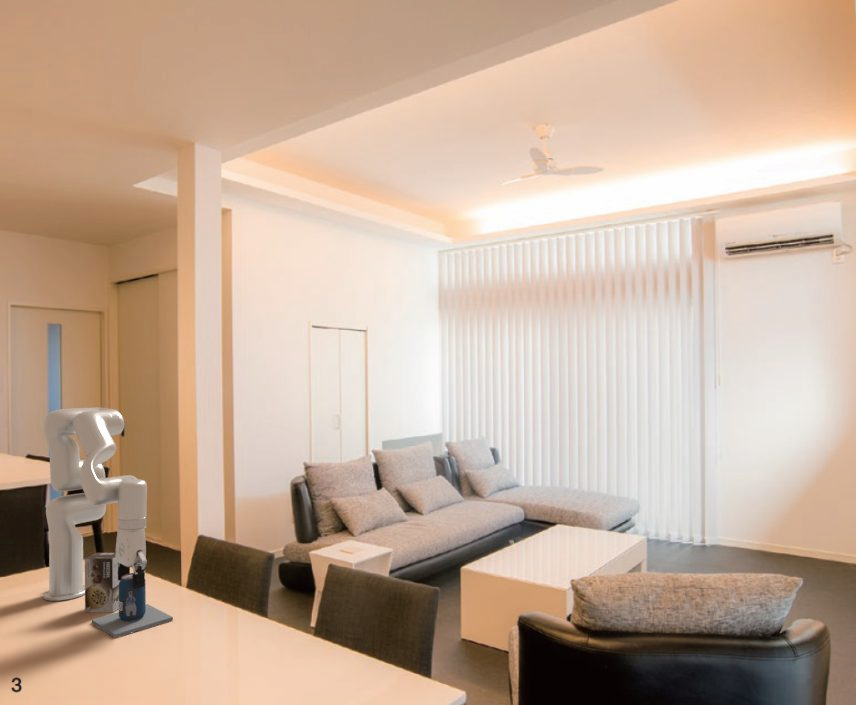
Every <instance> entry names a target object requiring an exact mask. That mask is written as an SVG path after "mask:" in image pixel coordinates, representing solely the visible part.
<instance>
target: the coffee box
mask: <svg viewBox="0 0 856 705" xmlns="http://www.w3.org/2000/svg"><path fill="white" fill-rule="evenodd" d="M115 553H116V552H95V553H93V554H91V555H89V556H87V557H85V558H84V585H85V594H84V611H85V613H115V612H116V611H118V610H119V582H120V581H119V580H118V562H117V561H116V559H115ZM117 609H118V610H117Z"/></svg>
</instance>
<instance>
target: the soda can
mask: <svg viewBox="0 0 856 705" xmlns="http://www.w3.org/2000/svg"><path fill="white" fill-rule="evenodd" d="M133 574H134V572H130V574H126V575H123V576H122V577H121V580H120V582H119V609H118V612H119V617H120V619H121V620H122V621H123V622H133V621H137V620H140V619H141V618H143V616H144V614H145V612H146V604H147V603H146V602H147V600H146V596H147V594H146V584H145V585H144V587H140V588H136V589H133V588H132V578H133Z"/></svg>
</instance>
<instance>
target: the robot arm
mask: <svg viewBox="0 0 856 705" xmlns="http://www.w3.org/2000/svg"><path fill="white" fill-rule="evenodd" d="M124 428H125V420H124V416H123V415H122V414H121V412H120V411H118V410H117V409H115V408H114V409H113V408H108V407H99V406H97V407H96V406H94V407H78V408H77V407H74V408H61V409H56V410H52V411H50V412H48V414H47V415H46V416H45V417H44V422H43V432H44V436H45V440H46V443H47V444H48V445H47V446H48V450H49V472H50V473H49V476H50V485H51V487H52V489H53V490H54V491H56V492H71V491H78V490H82V492H81V493H74V494H73V493H72V494H67V495H62V496H58V497H55V498H53V499H51V500H50V501H49V502H47V505H46V508H45V515H46V516H45V517H46V521H47V526H48V527H47V528H48V535H49V536H48V537H49V538H48V541H49V542H48V543H49V544H48V545H49V549H48V550H49V555H48V556H49V562H48V563H49V569H48V571H49V575H48V576H49V578H48V579H49V581H48V582H49V583H48V590H47V591H45V592H43V599H44V600H46V601H50V602H51V601H52V602H54V601H55V602H56V601H57V602H58V601H67V600H72V599H76V598H79V597H82V596H85V584H84V537H83V534H82V533H81V531H79V529H78V528H77V527H76V525H78V524H82V523H83V524H84V523H87V522H93V521H97V520H100V519H102V518H103V517H104V515H105V513H106V511H107V505H111V504H115V503H117V534H116V539H115V540H116V541H115V552H114V553H115V559H116V561H117V562H118V580H119V581H120V580H121V577H122V576H123V575H126V574H130V573H131V568H132V571H133V572H132V573H134V574H133V578H132V588H133V589H136V588H140V587H144V585H145V586H146V578H145V577H146V576H145V575H146V574H145V573H146V569H147V563H148V560H147V558H146V556H147V546H146V545H147V544H146V541H147V540H146V530H145V529H147V506H148V505H147V502H148V500H147V499H148V484H147V482H146V480H144V479H139V478H137V477H136V476H134V475H130V474H128V475H119V476H118V475H117V476H111V477H106V472H105V468H104V465H103V463H105V462H107V461H108V460H110V459H111V458H112V457H113V456H114V455H115V453H116V451H117V444H116V443H115V441H114V439H113V437H114V436H119V435H120V434H122V432H123V431H124ZM72 435H74V436H75V435H76V437H77V439H78V441H79V443H80V445H81V447H82V450H83V453H84V454H85V456H86V457H85V459H81V458H80V457H81V454H80V452H81V450H80V446H79V443H78V442H77V441H76V439H75V438H74V437H73V436H72ZM112 436H113V437H112Z"/></svg>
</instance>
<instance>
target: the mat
mask: <svg viewBox="0 0 856 705" xmlns="http://www.w3.org/2000/svg"><path fill="white" fill-rule="evenodd" d="M173 618H174V617H173V616H172V615H170V614H168V613H166V612H165V611H162V610H160V609H158V608H156V607H155V606H152V605H150V604H148V603H146V612H145V614H144V616H143V618H141V619H140V620H137V621H133V622H123V621H122V620H121V619H120V617H119V611H118V612H113V613H111V614H107V615H104V616H99V617H97V618H94V619H91V624H92V625H93V626H95V627H97V628H98V627H99V630H102V631H103V632H105V633H106V632H107V633H106V634H108V635H109V634H110V635H109V636H111V637H112V636H113V637H112V638H114V637H117V638H120V637H119V636H121V637H123V636H122V635H124V636H126V635H125V634H127V635H129V634H128V633H130V634H132V633H131V632H134V633H136V632H135V631H137V632H140V631H143V630H142V629H144V630H146V629H145V628H147V629H150V628H153V627H156V625H157V626H160V625H162V623H163V624H167V623H170V622H172V620H173ZM169 621H170V622H169ZM173 621H174V620H173ZM159 624H160V625H159ZM152 626H153V627H152ZM149 627H150V628H149ZM139 630H140V631H139Z"/></svg>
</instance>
